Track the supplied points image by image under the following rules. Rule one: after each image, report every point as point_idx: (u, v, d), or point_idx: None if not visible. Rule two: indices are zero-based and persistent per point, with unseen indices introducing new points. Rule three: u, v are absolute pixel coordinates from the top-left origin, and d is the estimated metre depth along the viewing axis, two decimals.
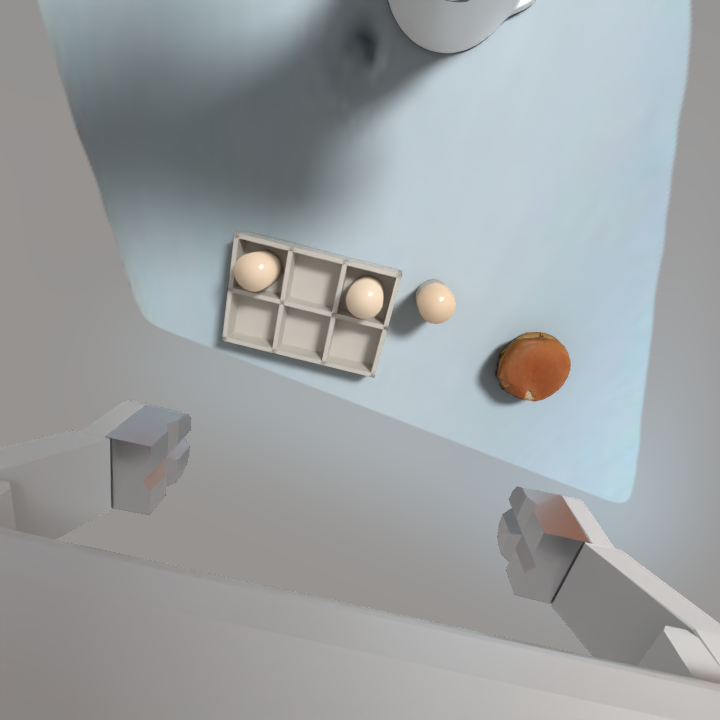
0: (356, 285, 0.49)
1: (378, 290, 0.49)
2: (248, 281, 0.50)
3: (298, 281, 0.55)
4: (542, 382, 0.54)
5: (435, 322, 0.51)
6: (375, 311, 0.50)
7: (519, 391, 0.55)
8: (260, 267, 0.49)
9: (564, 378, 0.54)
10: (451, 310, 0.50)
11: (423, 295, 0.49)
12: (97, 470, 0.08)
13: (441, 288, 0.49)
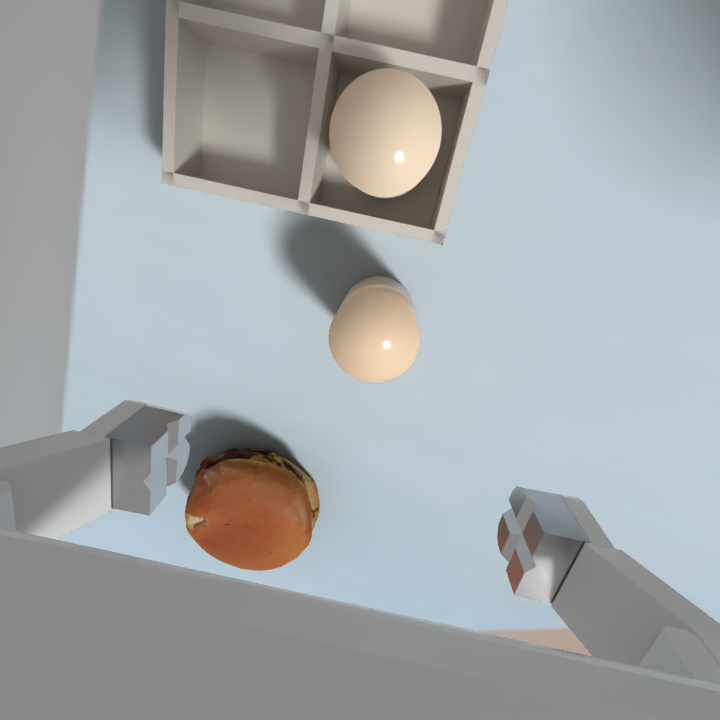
0: (431, 104, 0.16)
1: (415, 179, 0.17)
2: None
3: None
4: (226, 539, 0.28)
5: (331, 339, 0.20)
6: (352, 174, 0.17)
7: (199, 505, 0.27)
8: None
9: (240, 567, 0.29)
10: (363, 373, 0.21)
11: (399, 305, 0.20)
12: (97, 470, 0.08)
13: (416, 347, 0.20)
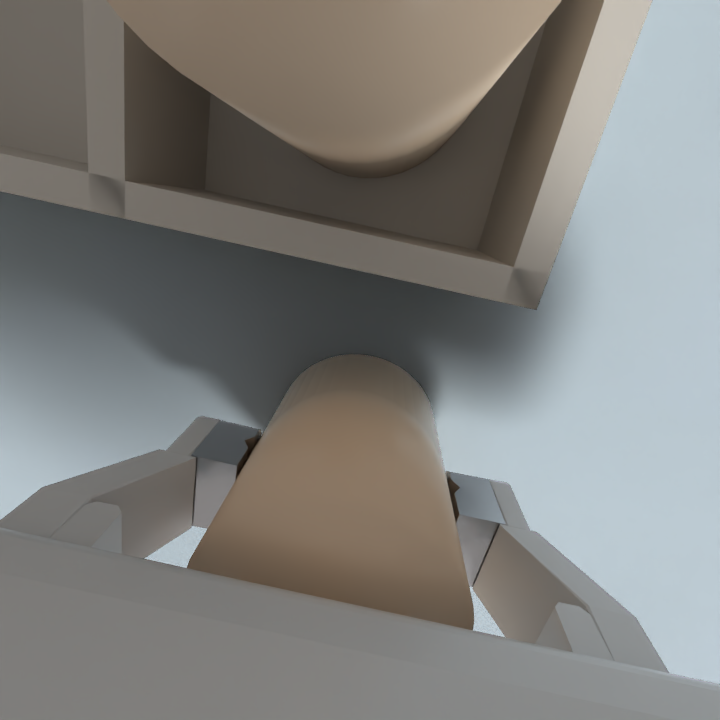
0: None
1: (504, 30, 0.03)
2: None
3: None
4: None
5: None
6: (165, 3, 0.03)
7: None
8: None
9: None
10: None
11: (406, 531, 0.06)
12: (183, 489, 0.08)
13: None
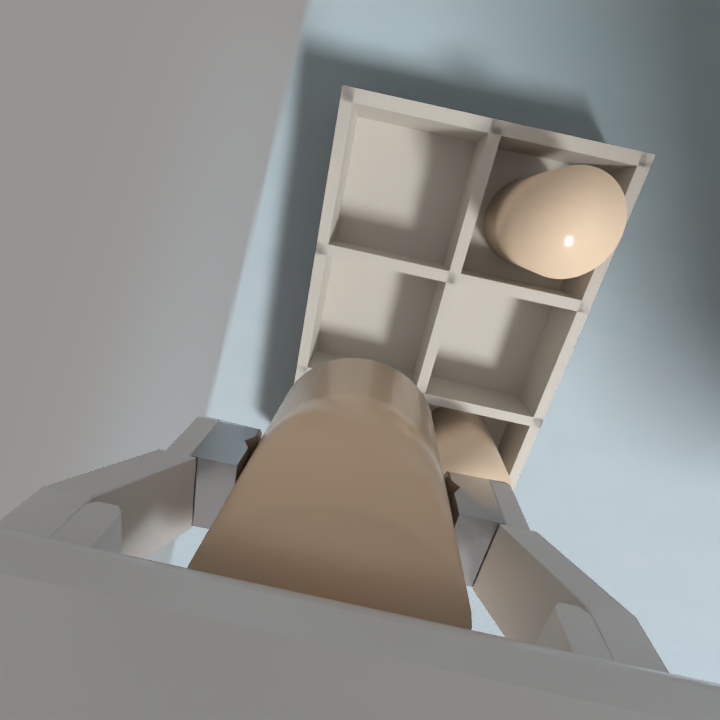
0: (505, 477, 0.22)
1: None
2: (545, 211, 0.17)
3: (482, 296, 0.24)
4: None
5: None
6: None
7: None
8: (581, 250, 0.17)
9: None
10: None
11: (404, 537, 0.06)
12: (183, 489, 0.08)
13: None
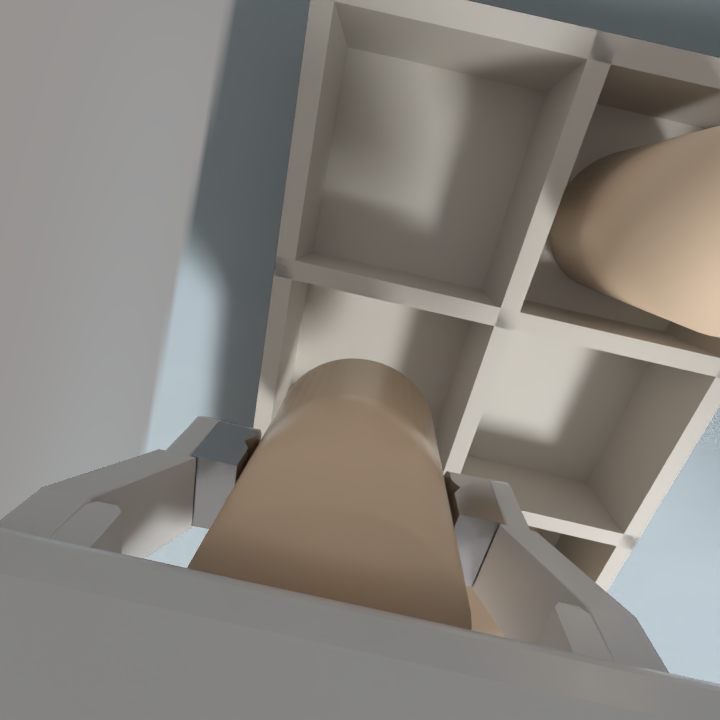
0: None
1: None
2: None
3: (542, 340, 0.16)
4: None
5: None
6: None
7: None
8: None
9: None
10: None
11: (404, 538, 0.06)
12: (183, 489, 0.08)
13: None
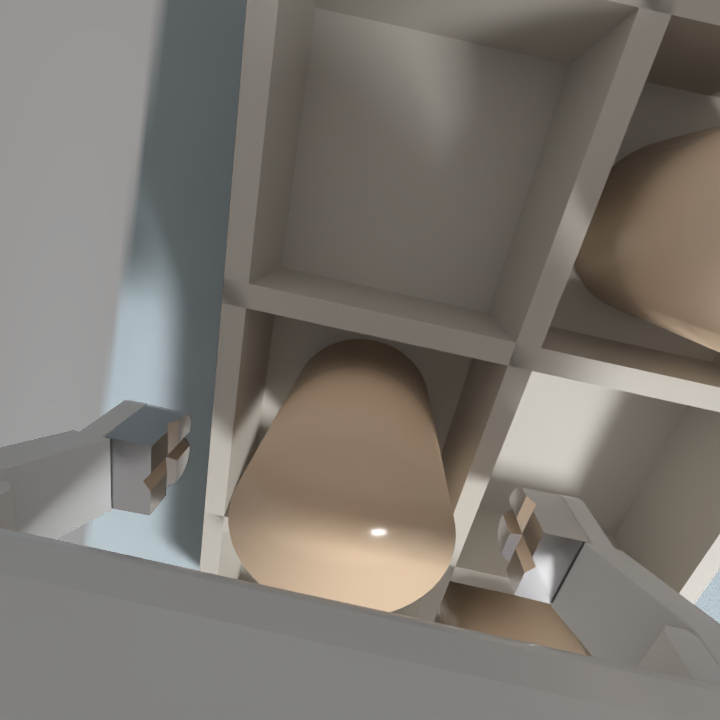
0: None
1: None
2: None
3: None
4: None
5: (234, 530, 0.08)
6: None
7: None
8: None
9: None
10: None
11: (403, 462, 0.07)
12: (97, 470, 0.08)
13: (446, 553, 0.08)
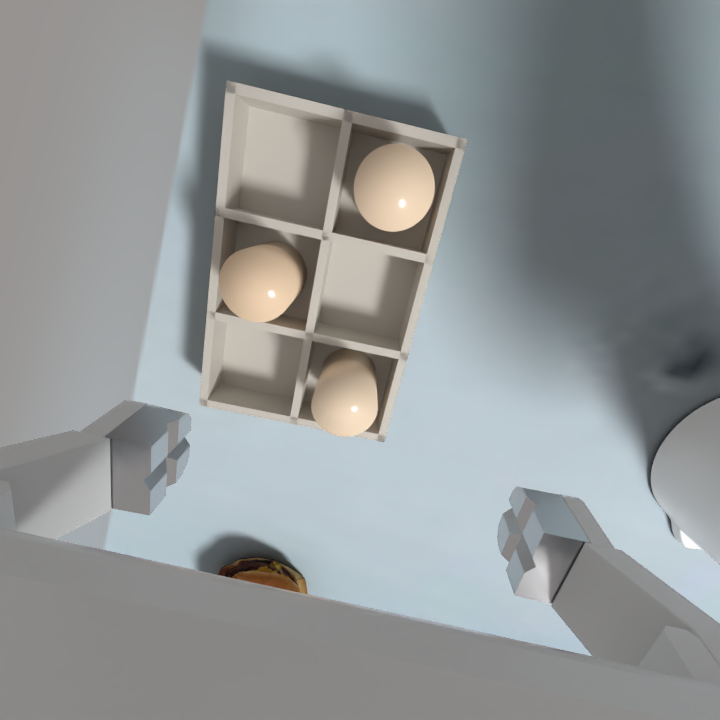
0: (371, 394, 0.27)
1: (363, 429, 0.28)
2: (376, 179, 0.23)
3: (361, 255, 0.30)
4: None
5: (220, 286, 0.25)
6: (325, 425, 0.28)
7: None
8: (405, 209, 0.23)
9: None
10: (250, 315, 0.25)
11: (273, 257, 0.24)
12: (97, 470, 0.08)
13: (290, 292, 0.25)
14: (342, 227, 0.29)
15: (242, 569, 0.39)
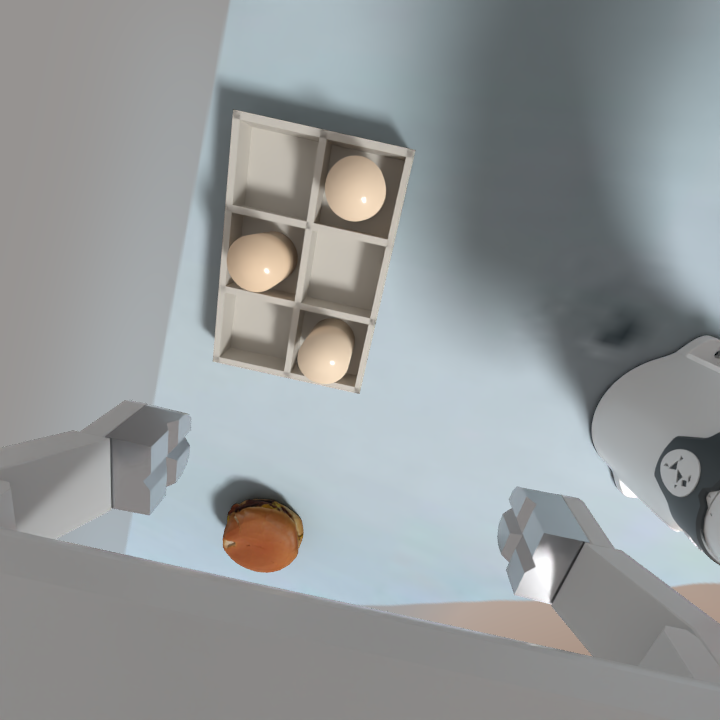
0: (343, 349, 0.35)
1: (338, 378, 0.36)
2: (341, 182, 0.30)
3: (340, 242, 0.38)
4: (247, 554, 0.47)
5: (228, 264, 0.33)
6: (309, 374, 0.36)
7: (232, 534, 0.46)
8: (364, 204, 0.31)
9: (255, 570, 0.49)
10: (250, 286, 0.34)
11: (266, 241, 0.32)
12: (97, 470, 0.08)
13: (280, 268, 0.33)
14: (324, 219, 0.37)
15: (249, 506, 0.47)
